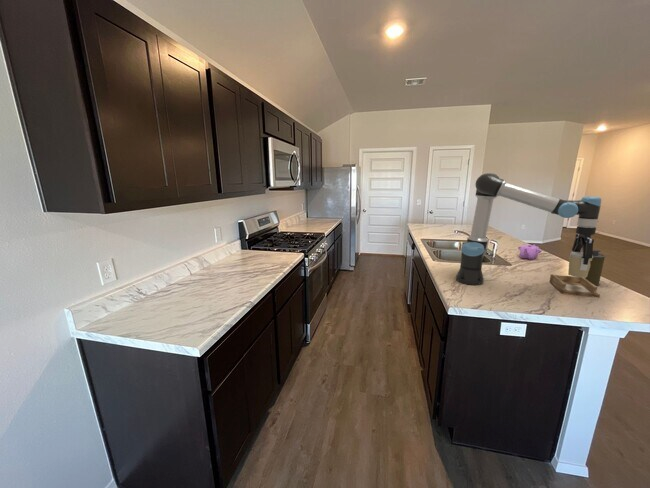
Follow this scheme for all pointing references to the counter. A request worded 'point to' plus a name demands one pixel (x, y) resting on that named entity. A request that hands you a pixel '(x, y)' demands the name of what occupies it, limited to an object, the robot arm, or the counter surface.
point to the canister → (595, 268)
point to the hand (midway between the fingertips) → (578, 267)
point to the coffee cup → (577, 265)
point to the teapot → (529, 251)
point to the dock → (573, 285)
